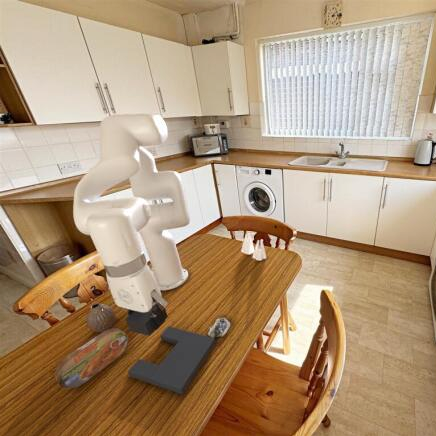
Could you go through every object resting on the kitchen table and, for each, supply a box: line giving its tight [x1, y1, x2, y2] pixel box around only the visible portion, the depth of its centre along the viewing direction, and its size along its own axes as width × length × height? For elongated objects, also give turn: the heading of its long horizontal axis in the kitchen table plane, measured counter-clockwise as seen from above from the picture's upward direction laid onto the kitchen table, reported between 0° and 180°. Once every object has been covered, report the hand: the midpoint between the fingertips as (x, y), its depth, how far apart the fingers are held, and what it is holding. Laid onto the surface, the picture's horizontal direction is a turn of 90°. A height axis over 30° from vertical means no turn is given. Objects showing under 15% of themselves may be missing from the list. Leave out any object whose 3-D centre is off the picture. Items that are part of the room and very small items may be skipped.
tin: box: [54, 328, 129, 389], centre depth 61 cm, size 15×3×8 cm, turn 148°
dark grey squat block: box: [124, 305, 168, 337], centre depth 59 cm, size 6×6×4 cm
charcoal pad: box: [127, 325, 217, 396], centre depth 63 cm, size 16×14×2 cm
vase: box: [85, 302, 117, 333], centre depth 72 cm, size 7×7×9 cm
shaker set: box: [240, 233, 267, 261], centre depth 105 cm, size 12×4×11 cm, turn 58°
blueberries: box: [206, 317, 232, 339], centre depth 72 cm, size 7×8×2 cm
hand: (149, 322), depth 60 cm, fingers closed on dark grey squat block, 6 cm apart
